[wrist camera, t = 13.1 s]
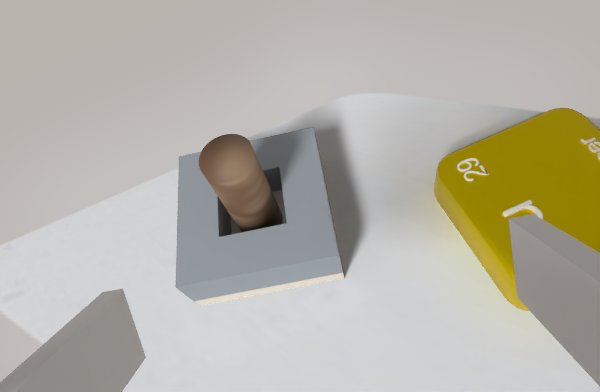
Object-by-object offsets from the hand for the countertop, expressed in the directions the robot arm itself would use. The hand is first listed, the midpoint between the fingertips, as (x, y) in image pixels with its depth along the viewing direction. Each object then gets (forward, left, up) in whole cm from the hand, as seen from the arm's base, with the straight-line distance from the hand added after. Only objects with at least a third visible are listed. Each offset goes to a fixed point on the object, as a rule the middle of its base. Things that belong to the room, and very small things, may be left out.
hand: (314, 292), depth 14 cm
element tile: (-20, -12, -25) cm, 34 cm away
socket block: (+6, -16, -24) cm, 30 cm away
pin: (+6, -16, -23) cm, 29 cm away
